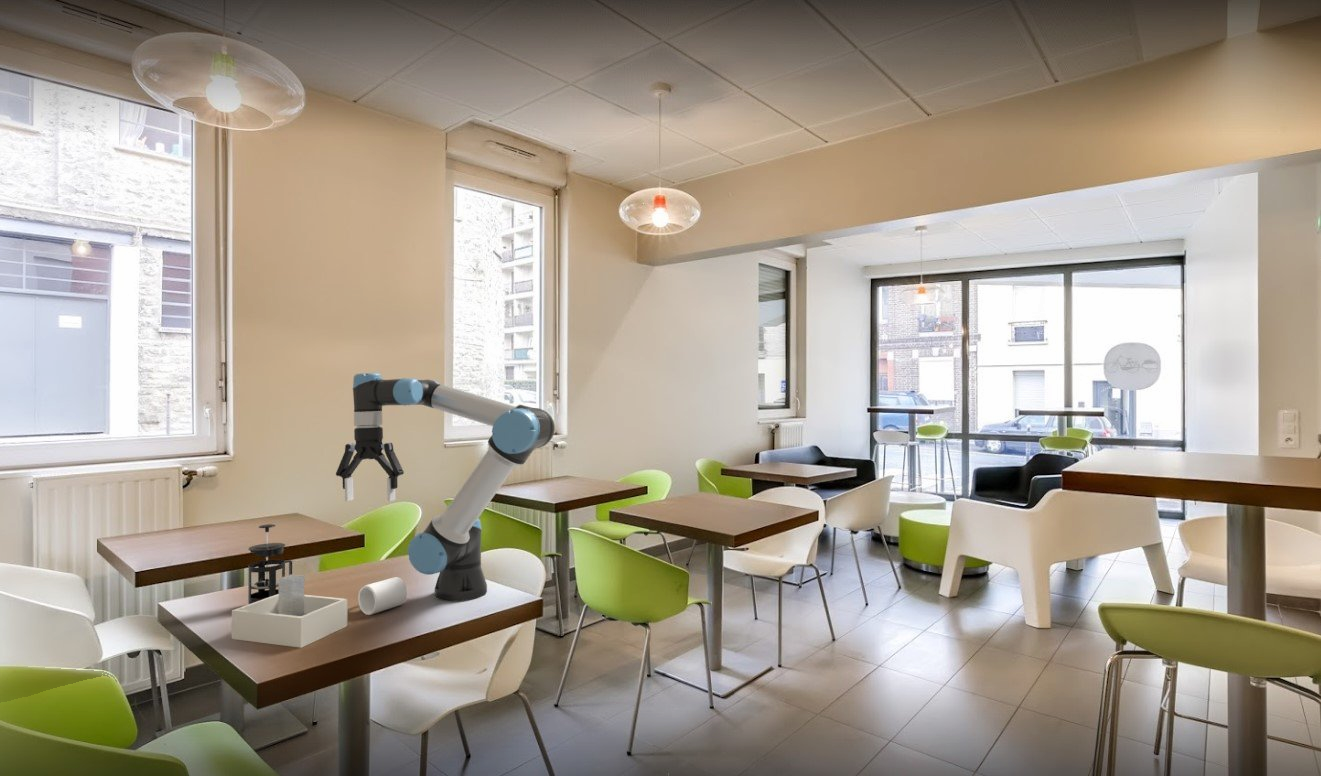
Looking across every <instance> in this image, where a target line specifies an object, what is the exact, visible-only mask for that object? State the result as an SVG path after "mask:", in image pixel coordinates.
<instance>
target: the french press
mask: <svg viewBox="0 0 1321 776" xmlns="http://www.w3.org/2000/svg"><path fill="white" fill-rule="evenodd" d="M274 527H276V524H272V523H271V524H270V523H269V524H261V525H259V526H258V528H259V529H264V532H265V534H266V535H265V536H266V537H265V538H266V539H265V540H266V542H265V543H262V544H256V545H252V546H250V547H248V551H250V553H251V554H255V555H256V556H257V557H259V558H265V559H266V560H260V561H256V562H253V563H250V564H248V578H247V579H248V591H247V592H248V602H247V603H248V604H247V605H249V604H251V603H254V602H257V601H260V600H263V599H266V598H268V597H271V596H274V595H277V594H279V578H277V571H279V570H281V578H282V577H285V576H286V564H287V563H288V575H291V574H293V560H291V559H288V560H287V559H286V560H285V559H284V560H283V559H269V558H270V557H275V556H280V555H282V554H283V553H284V548H285V547H286V543H282V542H271V543H270V542H269V533H270V528H274ZM269 565H272V566H269ZM252 573H258V575H257V581H254V582H253V583H252ZM277 587H278V589H277ZM252 590H257V591H256V592H253V593H252Z"/></svg>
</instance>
